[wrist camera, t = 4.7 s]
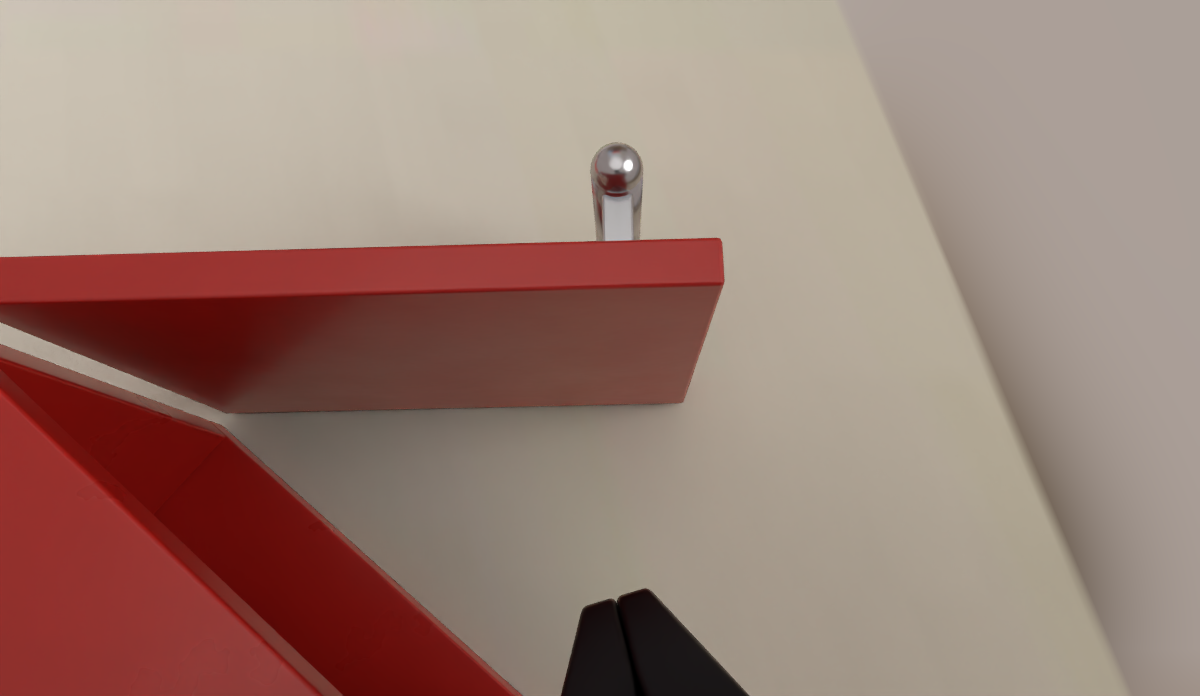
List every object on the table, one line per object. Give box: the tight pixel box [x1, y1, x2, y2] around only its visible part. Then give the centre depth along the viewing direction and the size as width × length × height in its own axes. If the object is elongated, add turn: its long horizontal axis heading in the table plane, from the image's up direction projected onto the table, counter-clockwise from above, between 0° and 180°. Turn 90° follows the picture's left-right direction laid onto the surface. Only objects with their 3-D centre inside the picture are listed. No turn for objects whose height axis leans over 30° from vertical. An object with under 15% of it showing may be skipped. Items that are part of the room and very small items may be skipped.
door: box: [0, 142, 725, 413], centre depth 17 cm, size 12×4×9 cm, turn 91°
